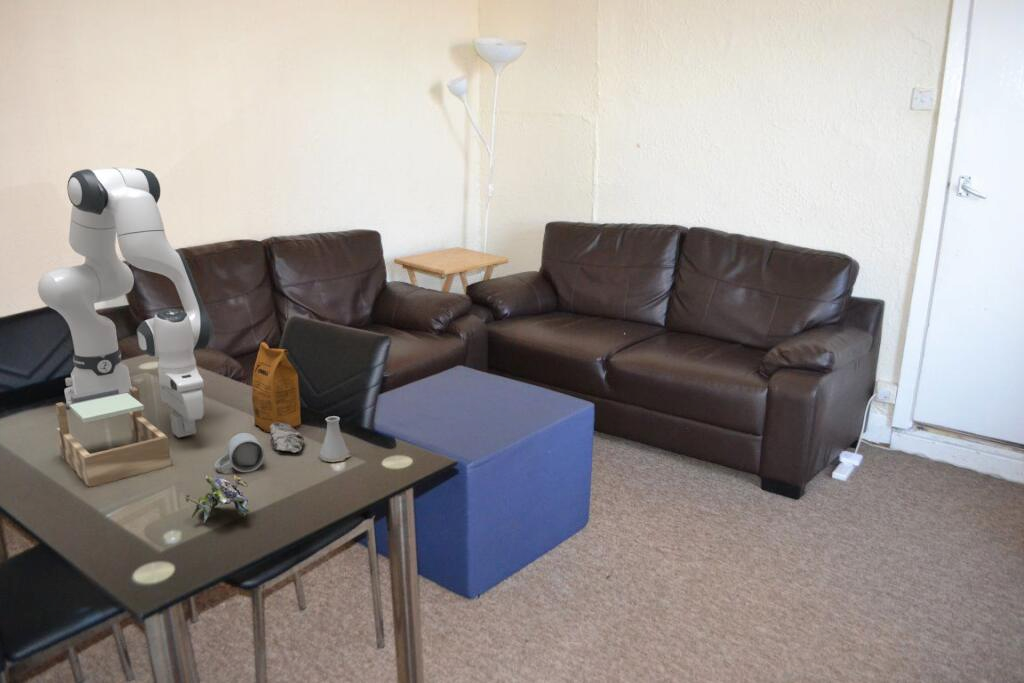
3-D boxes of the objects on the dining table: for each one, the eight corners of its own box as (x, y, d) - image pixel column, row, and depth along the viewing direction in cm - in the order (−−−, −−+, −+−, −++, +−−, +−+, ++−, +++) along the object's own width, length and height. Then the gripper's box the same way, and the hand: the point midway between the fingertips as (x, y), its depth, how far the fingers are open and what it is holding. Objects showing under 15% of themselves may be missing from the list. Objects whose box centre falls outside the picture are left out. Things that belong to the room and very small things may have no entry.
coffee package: (282, 415, 223) (276, 337, 217) (306, 427, 215) (301, 346, 209) (248, 424, 216) (241, 344, 210) (272, 437, 208) (265, 354, 202)
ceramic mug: (259, 456, 196) (256, 426, 194) (266, 469, 189) (263, 438, 187) (213, 465, 192) (209, 434, 190) (218, 478, 185) (214, 447, 183)
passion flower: (243, 538, 170) (263, 504, 163) (191, 547, 162) (210, 512, 156) (226, 493, 175) (245, 459, 169) (175, 500, 168) (193, 464, 161)
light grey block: (172, 432, 208) (169, 413, 206) (189, 428, 211) (187, 409, 209) (178, 437, 205) (176, 418, 203) (195, 433, 207) (194, 414, 206)
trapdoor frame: (61, 455, 196) (52, 400, 192) (138, 436, 208) (131, 384, 204) (89, 487, 180) (80, 427, 176) (171, 465, 191) (164, 408, 187)
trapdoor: (62, 407, 194) (61, 397, 194) (124, 395, 203) (123, 385, 203) (82, 426, 183) (80, 415, 182) (146, 412, 192) (145, 401, 191)
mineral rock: (305, 455, 197) (304, 438, 196) (271, 459, 195) (269, 442, 194) (302, 433, 211) (301, 417, 210) (270, 436, 209) (269, 420, 208)
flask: (313, 457, 196) (310, 418, 193) (338, 449, 201) (336, 410, 198) (331, 466, 191) (328, 426, 188) (356, 457, 196) (354, 418, 194)
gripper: (150, 367, 209) (156, 417, 213) (180, 388, 194) (185, 442, 198) (175, 362, 213) (180, 412, 217) (206, 382, 198) (211, 435, 202)
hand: (183, 426), depth 207 cm, fingers closed on light grey block, 4 cm apart
